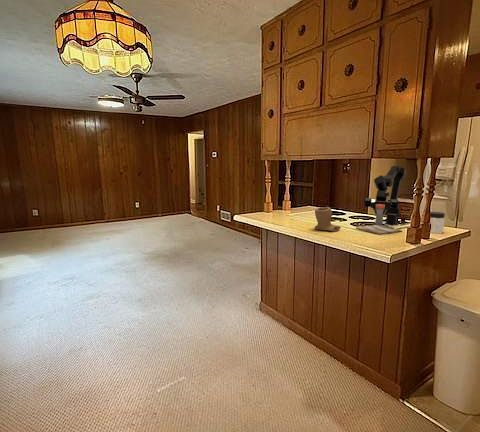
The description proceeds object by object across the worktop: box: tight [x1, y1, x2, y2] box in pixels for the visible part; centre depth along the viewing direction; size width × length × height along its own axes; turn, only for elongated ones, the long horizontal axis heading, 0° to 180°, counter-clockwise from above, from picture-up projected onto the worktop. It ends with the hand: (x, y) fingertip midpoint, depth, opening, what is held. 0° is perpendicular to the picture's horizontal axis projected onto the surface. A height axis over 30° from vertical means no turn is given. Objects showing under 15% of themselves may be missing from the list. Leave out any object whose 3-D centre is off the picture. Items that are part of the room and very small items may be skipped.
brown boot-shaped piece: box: [314, 206, 342, 232], centre depth 189 cm, size 15×12×15 cm
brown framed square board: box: [355, 224, 403, 236], centre depth 189 cm, size 19×19×2 cm
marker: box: [374, 204, 385, 226], centre depth 179 cm, size 4×4×12 cm
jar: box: [430, 211, 446, 234], centre depth 182 cm, size 9×8×12 cm
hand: (379, 214), depth 178 cm, fingers closed on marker, 4 cm apart
